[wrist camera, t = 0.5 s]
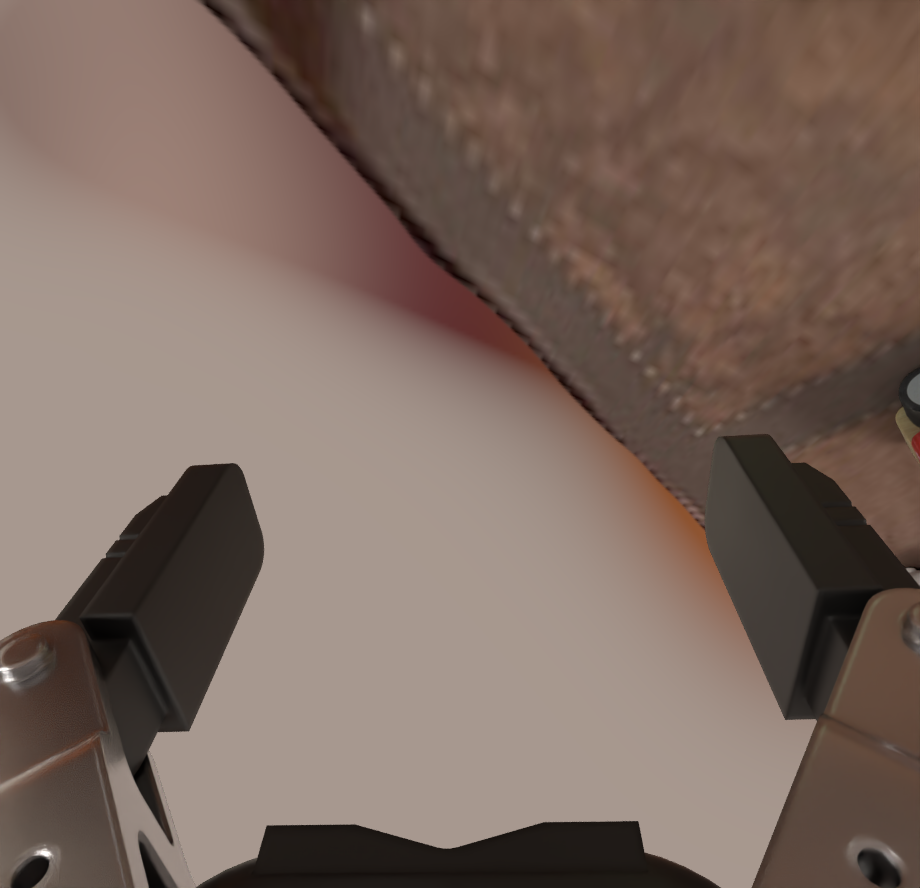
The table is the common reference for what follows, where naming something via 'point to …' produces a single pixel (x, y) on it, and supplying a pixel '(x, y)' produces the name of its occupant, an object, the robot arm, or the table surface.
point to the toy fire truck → (910, 412)
